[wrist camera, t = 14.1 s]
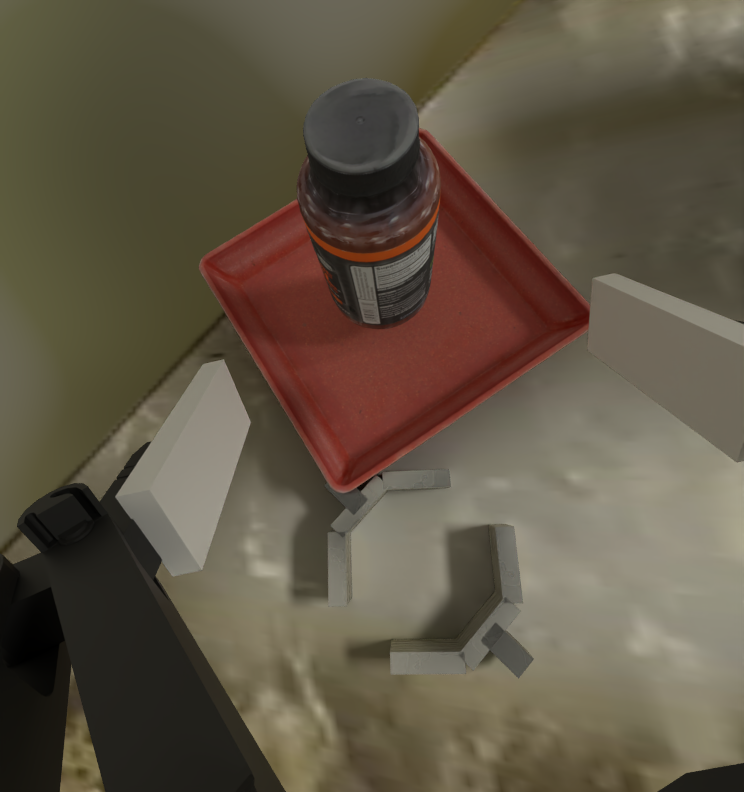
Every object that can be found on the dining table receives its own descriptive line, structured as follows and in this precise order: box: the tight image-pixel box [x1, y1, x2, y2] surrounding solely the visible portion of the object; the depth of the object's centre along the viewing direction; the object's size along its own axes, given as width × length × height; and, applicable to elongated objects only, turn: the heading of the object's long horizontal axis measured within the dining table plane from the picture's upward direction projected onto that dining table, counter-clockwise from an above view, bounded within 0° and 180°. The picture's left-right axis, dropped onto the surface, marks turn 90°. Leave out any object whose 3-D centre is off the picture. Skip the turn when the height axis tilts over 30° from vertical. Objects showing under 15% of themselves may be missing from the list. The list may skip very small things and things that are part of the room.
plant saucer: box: [199, 128, 590, 493], centre depth 26 cm, size 18×18×3 cm
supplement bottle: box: [297, 78, 441, 329], centre depth 19 cm, size 6×6×11 cm
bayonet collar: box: [324, 469, 533, 678], centre depth 23 cm, size 10×14×2 cm
